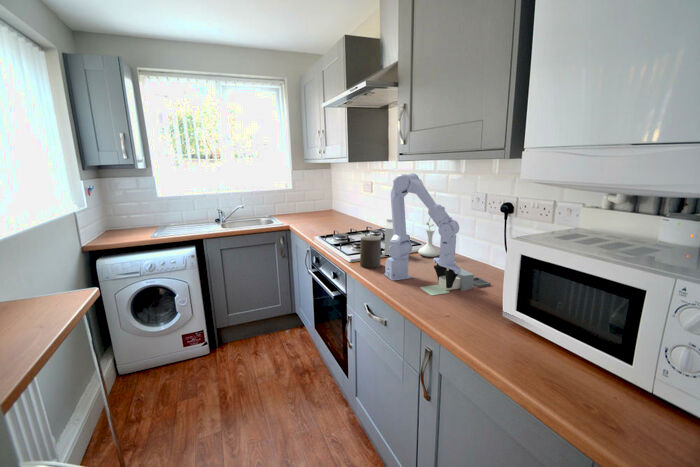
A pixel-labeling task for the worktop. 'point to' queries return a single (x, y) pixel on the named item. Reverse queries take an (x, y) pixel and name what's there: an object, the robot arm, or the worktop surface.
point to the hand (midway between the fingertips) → (445, 285)
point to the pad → (434, 290)
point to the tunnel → (466, 280)
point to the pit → (480, 282)
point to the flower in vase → (429, 245)
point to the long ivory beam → (455, 285)
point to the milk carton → (388, 235)
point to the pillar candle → (370, 252)
